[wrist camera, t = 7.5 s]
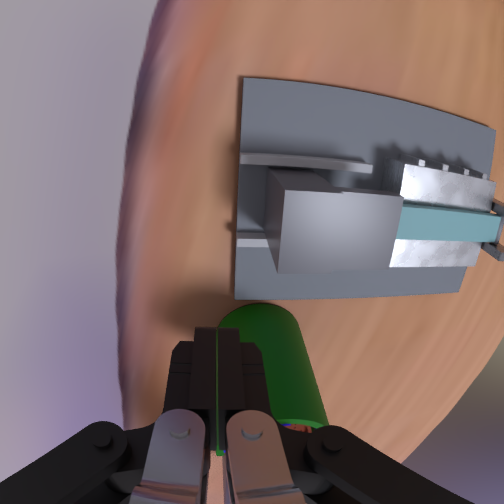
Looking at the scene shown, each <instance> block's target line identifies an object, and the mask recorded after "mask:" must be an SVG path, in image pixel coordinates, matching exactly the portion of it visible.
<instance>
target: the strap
mask: <svg viewBox="0 0 504 504" xmlns="http://www.w3.org/2000/svg"><path fill="white" fill-rule="evenodd" d="M503 225H504V217H503V216H501V215H499V214H492V213H484V212H476V211H468V210H459V209H450V208H441V207H431V206H421V205H411V204H403V206H402V211H401V216H400V221H399V226H398V231H397V236H396V239H400V240H437V241H468V242H491V243H493V244H498V243H499V239H500V236H501V232H502V228H503Z"/></svg>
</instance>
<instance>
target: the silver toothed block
mask: <svg viewBox="0 0 504 504" xmlns="http://www.w3.org/2000/svg"><path fill="white" fill-rule="evenodd" d="M495 187H496V182H494V181H492V180H489V179H487V174H485V173H482V172H480V171H477V170H474V169H471V168H469V167H465V166H463V168H462V167H460V166H457V165H454V164H451V163H448V162H444V164H443V163H440V162H437V161H434V160H432V159H428V158H423V160H422V159H419V158H416V157H413V156H410V155H407V154H401V153H400V159H397V158H390V157H385V158H384V165H383V173H382V180H381V186H380V191H389V192H396V193H398V194H399V195H401V196H403V197H404V201H403V204H411V205H421V206H431V207H441V208H450V209H459V210H468V211H476V212H484V213H490V211H491V210H492V211H494V212H496V213H497V214H499V215H501V216H503V217H504V203H502V202H500V201H498V200H496V199H494V198H493V197H494V192H495ZM480 248H481V249H483V250H484V251H486V252H487V253H488V254H490V255H491V256H493V257H494V258H495V259H497V260H498V261H504V246H502V245H501V244H499V243H498V244H493V243H491V242H468V241H437V240H400V239H396V240H395V245H394V249H393V253H392V257H391V262H390V266H389V267H456V266H475V264H476V261H477V258H478V255H479V252H480Z"/></svg>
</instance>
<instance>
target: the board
mask: <svg viewBox="0 0 504 504" xmlns="http://www.w3.org/2000/svg"><path fill="white" fill-rule="evenodd" d="M495 136H496V130H494V129H491V128H489V127H486V126H483V125H481V124H478V123H475V122H472V121H469V120H467V119H464V118H461V117H458V116H455V115H452V114H448V113H445V112H442V111H439V110H435V109H432V108H428V107H425V106H421V105H417V104H414V103H410V102H406V101H402V100H398V99H394V98H389V97H385V96H380V95H376V94H371V93H366V92H361V91H355V90H350V89H344V88H338V87H332V86H325V85H318V84H310V83H302V82H293V81H283V80H271V79H257V78H244V79H243V92H242V111H241V131H240V152H239V174H238V198H237V224H236V252H235V283H234V299H235V300H295V299H339V298H367V297H389V296H408V295H425V294H440V293H453V292H459V289H460V286H461V283H462V281H463V278H464V275H465V272H466V269H467V266H456V267H389V270H332V272H331V274H277V271H276V268H275V265H274V261H273V258H272V255H271V252H270V249H269V245H268V242H267V239H266V236H265V233H264V230H263V227H264V213H265V198H266V183H267V168H268V167H280V168H297V169H311V170H312V171H314V172H315V173H316V174H318V175H319V176H321V177H322V178H323V179H325V180H326V181H327V182H329V183H330V184H332V185H333V186H334V187H346V188H357V189H368V190H379V191H380V186H381V180H382V173H383V165H384V158H385V157H390V158H397V159H400V153H401V154H407V155H410V156H413V157H416V158H419V159H422V160H423V158H428V159H432V160H434V161H437V162H440V163H443V164H444V162H448V163H451V164H454V165H457V166H460V167H462V168H463V166H465V167H469V168H471V169H474V170H477V171H480V172H482V173H485V174H487V179H489V177H490V171H491V165H492V159H493V152H494V144H495Z"/></svg>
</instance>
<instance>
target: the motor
mask: <svg viewBox="0 0 504 504" xmlns="http://www.w3.org/2000/svg"><path fill="white" fill-rule="evenodd" d="M218 327H225V328H239V335H240V342H254V343H255V344H256V345H257V347H258V348H259V349H260V351H261V352H262V358H263V366H264V370H265V377H266V383H267V389H268V396H269V402H270V408H271V412H272V415H273V417H274V418H275V419H276V420H277V421H278V422H279V423H280V424H281V425H283V426H285V427H287V428H289V429H293V430H297V431H302V432H308V433H312V432H313V431H314V430H316V429H317V428H319V427H322V426H327V425H329V422H328V419H327V416H326V412H325V409H324V406H323V402H322V399H321V396H320V392H319V389H318V386H317V383H316V379H315V376H314V373H313V370H312V366H311V363H310V360H309V357H308V353H307V350H306V347H305V344H304V341H303V337H302V334H301V331H300V328H299V325H298V322H297V320H296V319H295V317H294V316H293V315H292V314H291V313H290V312H288V311H287V310H285V309H283V308H281V307H279V306H275V305H271V304H251V305H247V306H243V307H241V308H238V309H236V310H234V311H233V312H231V313H230V314H228V315H227V316H226V317H225V318H224V319H223V320H222V321H221V323H220V324H219V326H218ZM216 427H217V451H216V455H217V456H225V455H224V453H225V450H219V428H218V328H217V332H216Z"/></svg>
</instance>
